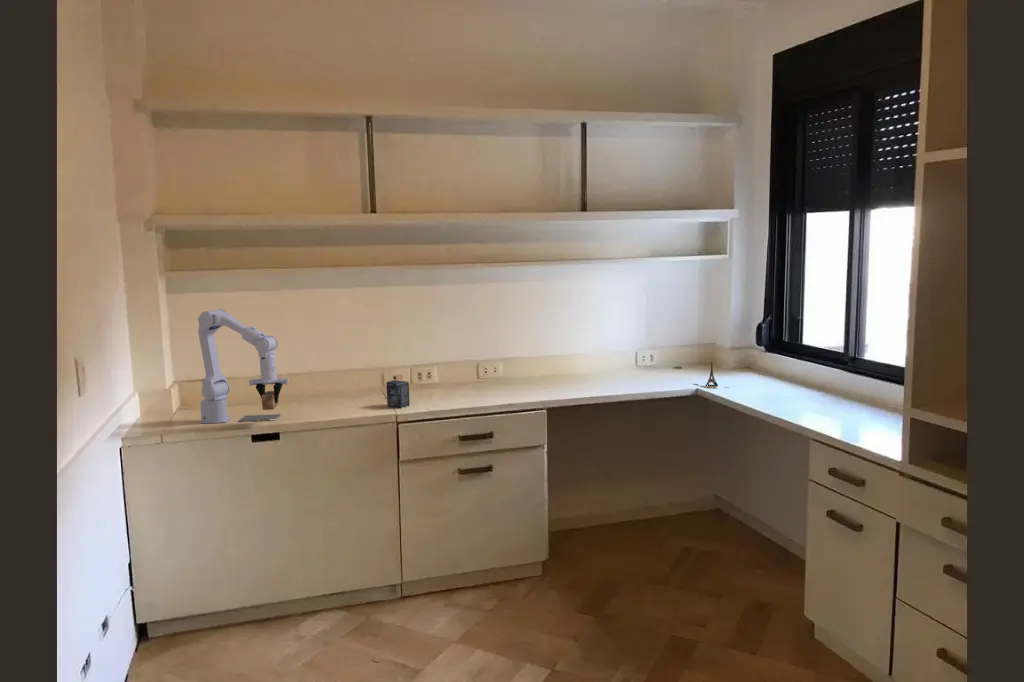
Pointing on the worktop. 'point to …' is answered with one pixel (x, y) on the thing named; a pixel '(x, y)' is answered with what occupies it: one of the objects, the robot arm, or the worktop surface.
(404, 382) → the box
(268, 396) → the walnut block
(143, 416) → the worktop surface
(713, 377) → the eiffel tower figurine
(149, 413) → the worktop surface
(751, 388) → the worktop surface
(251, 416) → the mat
